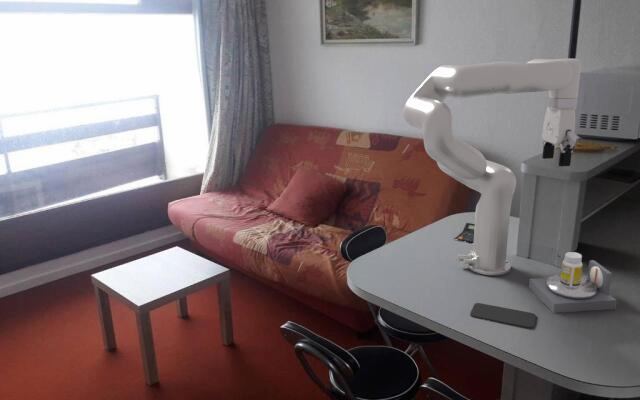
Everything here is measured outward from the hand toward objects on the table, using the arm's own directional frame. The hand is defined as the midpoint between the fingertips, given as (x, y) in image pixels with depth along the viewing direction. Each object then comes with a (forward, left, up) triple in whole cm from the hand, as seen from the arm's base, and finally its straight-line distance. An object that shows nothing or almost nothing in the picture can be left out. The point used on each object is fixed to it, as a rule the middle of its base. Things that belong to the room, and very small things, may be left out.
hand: (555, 162), depth 156 cm
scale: (-6, -26, -30) cm, 40 cm away
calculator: (-16, +19, -31) cm, 40 cm away
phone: (-27, -33, -31) cm, 53 cm away
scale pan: (-6, -26, -28) cm, 38 cm away
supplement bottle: (-6, -26, -27) cm, 38 cm away
